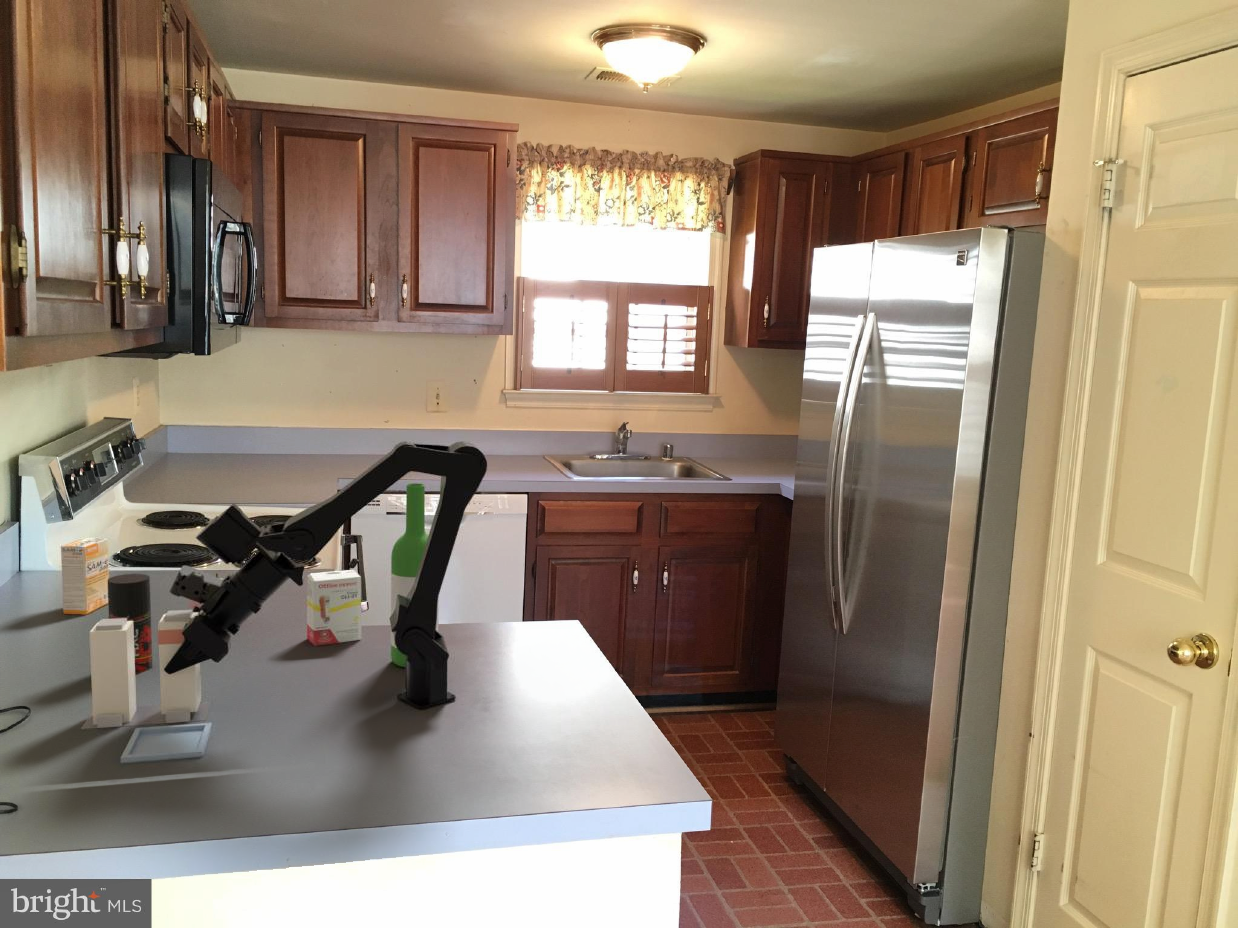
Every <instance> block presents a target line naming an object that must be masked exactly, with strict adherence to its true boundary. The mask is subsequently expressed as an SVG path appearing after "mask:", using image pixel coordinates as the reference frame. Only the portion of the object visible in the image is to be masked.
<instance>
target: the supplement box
mask: <svg viewBox="0 0 1238 928" xmlns="http://www.w3.org/2000/svg"><path fill="white" fill-rule="evenodd" d="M60 557H61V559H60V561H61V582H62V583H61V584H62V586H61V587H62V588H61V589H62V608H63V609H62V610H63V614H64V615H65V614H67V615H89V614H90V613H92V612H94V611H95V610H98V609H99V608H102V607H103V606H106V605H108V579H109V578H110V574H109V573H110V570H109V569H110V567H109V565H110V564H109V538H107V537H106V538H104V537H85V538H82V539H78V540H75V541H73V542H70V543H66V544H64V545H63V544H62V545H61V546H60Z"/></svg>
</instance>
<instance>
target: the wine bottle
mask: <svg viewBox="0 0 1238 928" xmlns="http://www.w3.org/2000/svg"><path fill="white" fill-rule="evenodd" d="M425 486H426V485H424V483H416V482H415V483H408V484H407V485H406V497H405V499H406V503H405V508H406V509H405V532H404V533H403V534H402V535H401V536H400V537H399V538H398V539H397V540H396V542H395V543H394V544H393V546H392V551H391V558H390V559H391V564H390V565H391V566H390V568H391V569H390V576H391V577H390V616H391V615H392V614H393V612H394V610H395V607H396V599H397V595H398V594H399V595H401V596H404V597H406V596H407V595H408V593H409V592H410V590H411V589H412V587H413V585H414V581H415V578H416V575H417V572H418V568H419V565H420V562H421V558H422V555H423V552H424V549H425V545H426V542H427V539H428V535H429V534H427V532H426V529H425V523H426V521H425V520H426V519H425V518H426V517H425V516H426V515H425V509H426V508H425V502H426V501H425V498H426V496H425V493H426V491H425V488H426V487H425ZM439 597H440V596H438V606H437V622H436V631H438V632H439ZM390 658H391V660H392V662H393V663H394V664H395V665H396V666H397V667H401V668H405V666H406V655H404V654H402V653H401V652H400V651H399V650H398V649H397V647H396V645H395V640H394V634H393V632H392V631H391V630H390ZM394 664H393V665H394Z"/></svg>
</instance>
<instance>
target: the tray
mask: <svg viewBox="0 0 1238 928" xmlns="http://www.w3.org/2000/svg"><path fill="white" fill-rule="evenodd" d="M212 725H213V723H212V722H205V723H204V722H203V723H187V724H174V725H173V724H172V725H161V726H158V725H157V726H148V727H147V726H145V727H135V729H134V730H133V733H132V735H131V736H130V739H129V740H128V743H127V744H126V746H125V749H124V751H123V752H122V754H121V756H120V764H121V765H122V764H123V765H124V764H135V763H147V762H156V761H157V762H158V761H171V760H173V761H174V760H183V759H184V760H185V759H196V758H203V756H204V753H205V750H206V747H207V745H208V741H209V738H210V735H211V732H212V730H213V729H212V728H213V727H212Z"/></svg>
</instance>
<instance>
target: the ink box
mask: <svg viewBox="0 0 1238 928" xmlns="http://www.w3.org/2000/svg"><path fill="white" fill-rule="evenodd" d="M306 584H307V588H306V589H307V590H306V591H307V592H306V595H307V596H306V598H307V599H306V602H307V604H306V614H307V615H306V638H307V640H308V641H309V642H310V643H311V644H312V646H314V647H317V646H324V645H331V644H340V643H345V642H355V641H360V640H362V576H361V575H360V574H359V572H357V571H356V570H353V569H348V570H347V569H346V570H337V571H335V570H334V571H322V572H312V573H309V574H307V583H306Z"/></svg>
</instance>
